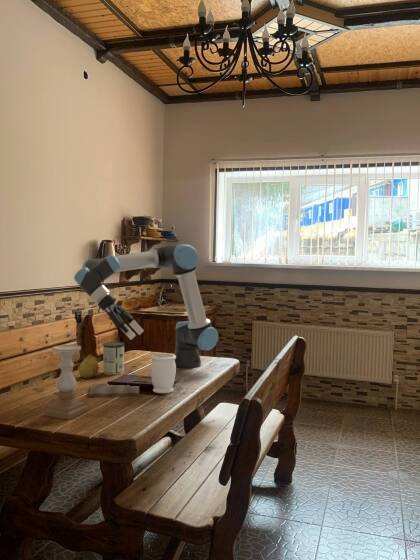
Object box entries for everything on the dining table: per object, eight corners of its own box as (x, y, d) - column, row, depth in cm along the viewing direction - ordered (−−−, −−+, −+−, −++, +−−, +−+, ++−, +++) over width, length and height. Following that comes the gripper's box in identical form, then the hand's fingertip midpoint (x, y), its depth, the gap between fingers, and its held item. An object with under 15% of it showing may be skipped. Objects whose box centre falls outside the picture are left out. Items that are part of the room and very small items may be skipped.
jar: (179, 389, 211) (179, 354, 210) (169, 395, 201) (170, 359, 200) (156, 386, 214) (157, 352, 214) (146, 392, 204) (146, 357, 204)
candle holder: (64, 407, 184) (64, 343, 183) (88, 411, 179) (88, 345, 178) (43, 415, 174) (43, 348, 172) (68, 420, 169) (69, 351, 168)
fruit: (74, 378, 227) (74, 352, 226) (87, 374, 235) (87, 349, 235) (89, 380, 223) (89, 354, 223) (102, 376, 232) (102, 350, 231)
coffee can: (106, 369, 245) (106, 341, 245) (126, 370, 244) (127, 342, 244) (99, 374, 235) (100, 345, 235) (121, 375, 234) (121, 345, 234)
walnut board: (138, 385, 216) (138, 382, 216) (139, 395, 200) (139, 392, 200) (92, 386, 213) (92, 383, 213) (88, 396, 197) (88, 394, 197)
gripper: (106, 302, 221) (138, 336, 220) (87, 307, 197) (122, 346, 195) (118, 290, 221) (150, 325, 219) (100, 294, 196) (136, 333, 195)
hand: (137, 335), depth 207 cm, fingers open, 13 cm apart
